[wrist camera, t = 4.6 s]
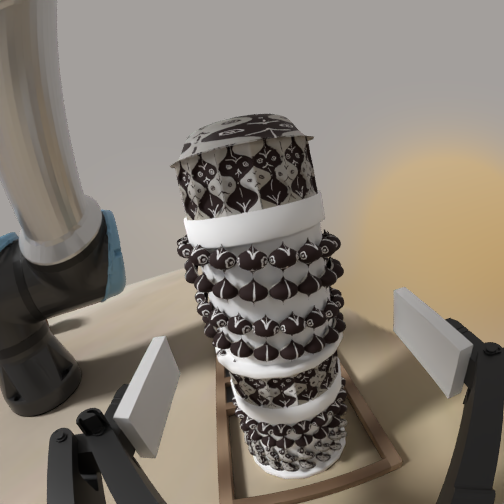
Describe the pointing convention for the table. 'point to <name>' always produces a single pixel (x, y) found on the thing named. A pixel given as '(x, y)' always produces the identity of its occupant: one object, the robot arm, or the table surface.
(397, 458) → the brown flat rectangular frame
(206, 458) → the table surface
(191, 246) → the decorative candle
